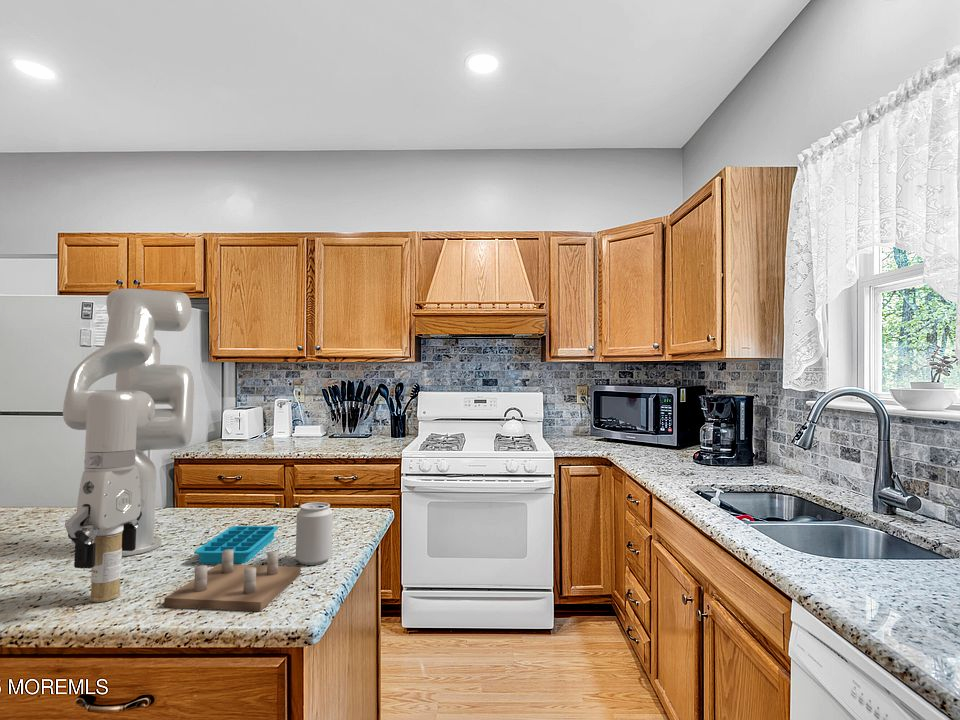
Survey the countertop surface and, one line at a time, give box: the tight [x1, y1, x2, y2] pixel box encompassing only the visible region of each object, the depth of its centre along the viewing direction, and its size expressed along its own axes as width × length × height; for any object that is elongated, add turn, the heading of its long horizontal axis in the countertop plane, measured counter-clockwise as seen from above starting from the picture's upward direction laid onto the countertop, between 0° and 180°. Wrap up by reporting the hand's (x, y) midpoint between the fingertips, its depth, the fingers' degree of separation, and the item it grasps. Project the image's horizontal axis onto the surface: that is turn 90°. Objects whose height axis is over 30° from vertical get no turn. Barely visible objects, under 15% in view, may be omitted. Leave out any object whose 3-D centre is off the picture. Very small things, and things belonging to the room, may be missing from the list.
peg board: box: [163, 549, 302, 612], centre depth 100 cm, size 17×17×6 cm
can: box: [295, 501, 334, 566], centre depth 117 cm, size 8×8×12 cm
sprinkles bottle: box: [89, 524, 124, 603], centre depth 96 cm, size 5×5×13 cm
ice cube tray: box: [194, 525, 279, 565], centre depth 123 cm, size 12×20×3 cm, turn 2°
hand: (106, 558), depth 95 cm, fingers open, 9 cm apart
